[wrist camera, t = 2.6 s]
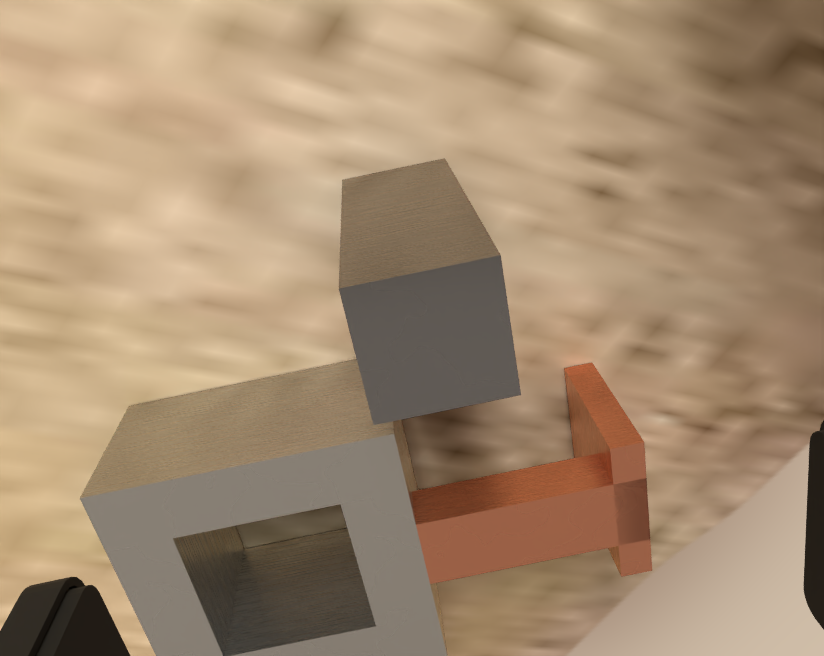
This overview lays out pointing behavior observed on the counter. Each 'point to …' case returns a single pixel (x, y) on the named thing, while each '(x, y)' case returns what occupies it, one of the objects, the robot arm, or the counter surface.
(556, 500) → the square sleeve with handle
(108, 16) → the counter surface
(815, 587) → the robot arm
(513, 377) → the square peg
